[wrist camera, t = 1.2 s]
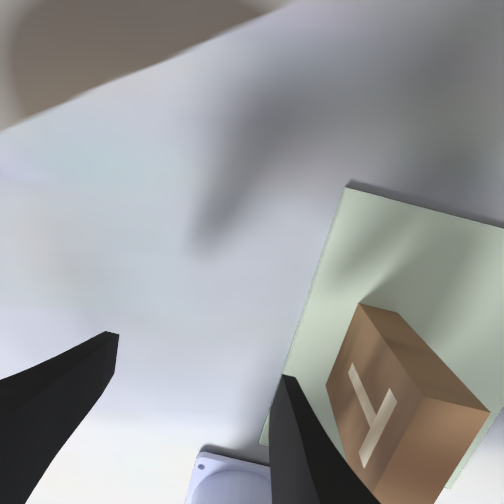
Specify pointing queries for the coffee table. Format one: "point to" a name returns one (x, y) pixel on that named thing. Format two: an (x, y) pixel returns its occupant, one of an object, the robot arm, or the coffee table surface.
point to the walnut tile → (399, 409)
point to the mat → (406, 298)
